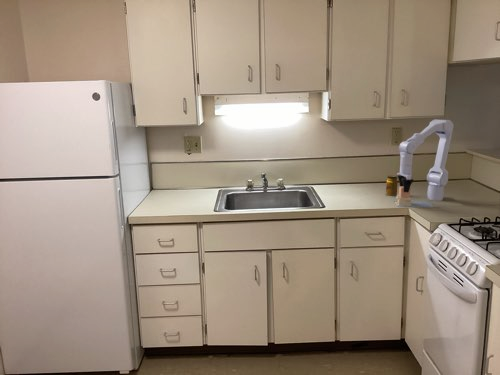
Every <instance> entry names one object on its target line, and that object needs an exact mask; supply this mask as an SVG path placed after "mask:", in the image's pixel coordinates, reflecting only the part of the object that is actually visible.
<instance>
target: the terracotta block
mask: <svg viewBox="0 0 500 375" xmlns="http://www.w3.org/2000/svg"><path fill="white" fill-rule="evenodd" d="M398 188H399V189H398V195H399V196H400V197H401V198H410V197H411V188H410V189H409V192H404V189H403V186H400V185H399V187H398Z"/></svg>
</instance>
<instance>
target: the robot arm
mask: <svg viewBox="0 0 500 375" xmlns="http://www.w3.org/2000/svg"><path fill="white" fill-rule="evenodd" d="M454 126H455V124H454V123H453V121H451V119H436V118H435V119H432V121H429V125H427V126H426V127H425V128H423V129H422V131H421V132H417V133H413V135H412V136H411V137H410V138H407V140H406V141H401V143H399V146H398V151H399V155H400V159H399V160H400V163H399V164H400V166H399V172H397V173H396V176H397V180H398V181H399V182H398V183H399V186H403V189H404V192H409V189H410V190H411V185H412V183H413V182H414V178H412V175H413V174H412V170H413V168H412V167H413V156H414V155H413V153H415V152H416V150H417V148H418V147H419V146H421V144H423V143H424V142H425V139H426V138H427V137H429V136H430V135H432V134H433V133H435V134H436V135H438V137H439V141H438V144H437V151H436V155H435V160H434V164H433V167H431V168H430V169H429V170H428V171H429V172H428V173H427V174H426V181H427V182H428V185H427V193H426V197H427V199H428V200H430V201H435V202H436V201H437V202H440V201H444V200H443V199H444V189H445V186H446V185H447V184H448V181H449V171H448V170H447V169H446V163H447V160H448V154H449V150H450V145H451V140H452V137H453V130H454Z"/></svg>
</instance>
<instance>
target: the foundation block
mask: <svg viewBox="0 0 500 375" xmlns="http://www.w3.org/2000/svg"><path fill="white" fill-rule="evenodd" d="M395 201H396V203H397V204H398V205H411V201H412V197H411V196H410V198H401V197H400V196H399V194H397V196H396V200H395Z"/></svg>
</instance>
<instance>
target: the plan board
mask: <svg viewBox="0 0 500 375" xmlns="http://www.w3.org/2000/svg"><path fill="white" fill-rule="evenodd" d="M392 202H393V203H394V204H395V205H396V206H397V207H398V208H435V206H434V205H433V204H431V203H430V202H429V201H419V200H418V201H417V200H414V201H412V200H411V205H398V204H397V203H396V200H392Z"/></svg>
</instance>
